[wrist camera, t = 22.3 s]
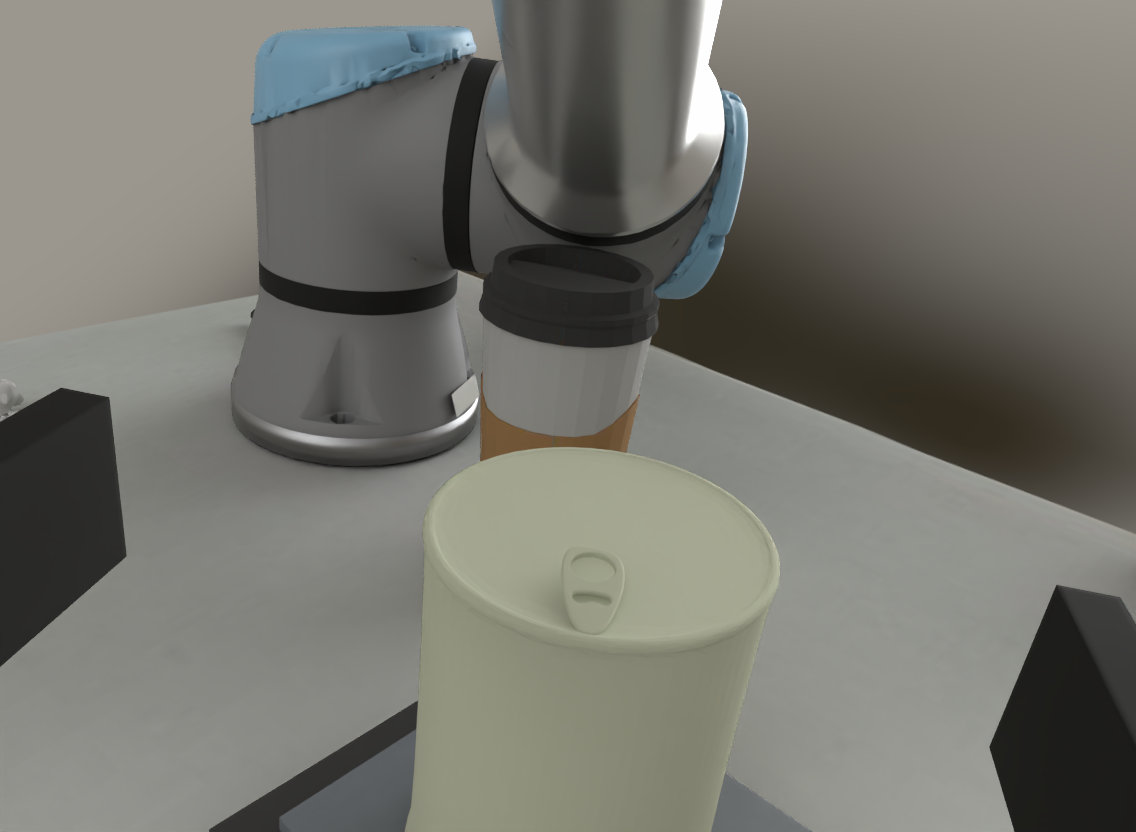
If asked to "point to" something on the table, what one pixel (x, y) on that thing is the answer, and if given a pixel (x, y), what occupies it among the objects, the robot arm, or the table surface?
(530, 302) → the coffee cup
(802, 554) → the table surface
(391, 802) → the kitchen scale
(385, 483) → the table surface
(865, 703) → the table surface
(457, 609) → the can
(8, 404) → the set of white lumps
